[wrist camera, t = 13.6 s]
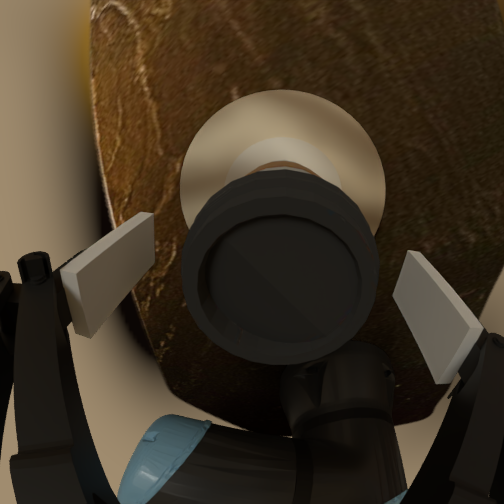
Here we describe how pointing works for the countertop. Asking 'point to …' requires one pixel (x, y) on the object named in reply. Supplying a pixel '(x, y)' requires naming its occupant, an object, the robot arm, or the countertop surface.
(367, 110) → the countertop surface
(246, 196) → the coffee cup
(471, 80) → the countertop surface
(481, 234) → the countertop surface
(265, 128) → the cream round saucer
